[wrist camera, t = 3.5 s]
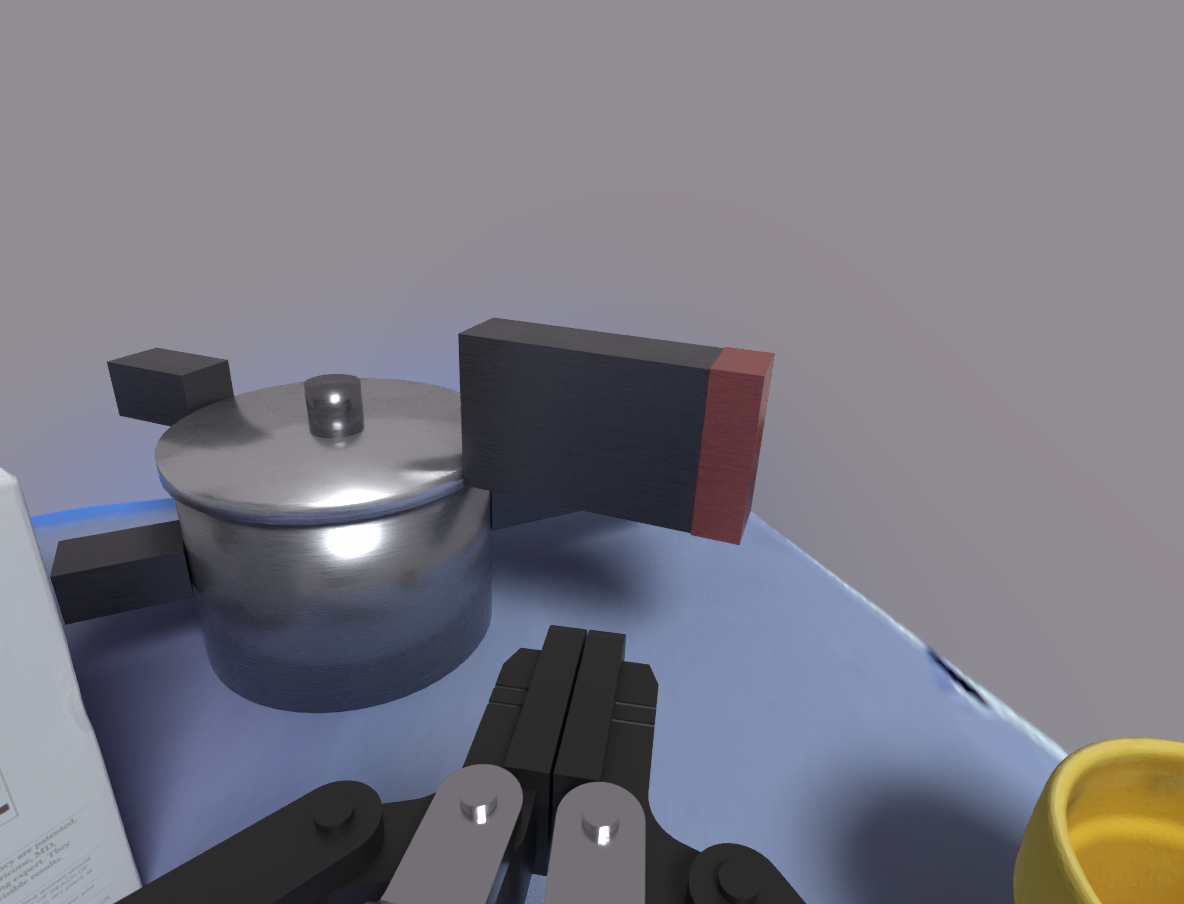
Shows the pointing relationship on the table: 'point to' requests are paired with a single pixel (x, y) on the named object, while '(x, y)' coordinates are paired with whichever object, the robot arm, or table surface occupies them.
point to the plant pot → (1107, 828)
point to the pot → (311, 594)
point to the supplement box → (48, 744)
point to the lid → (469, 431)
